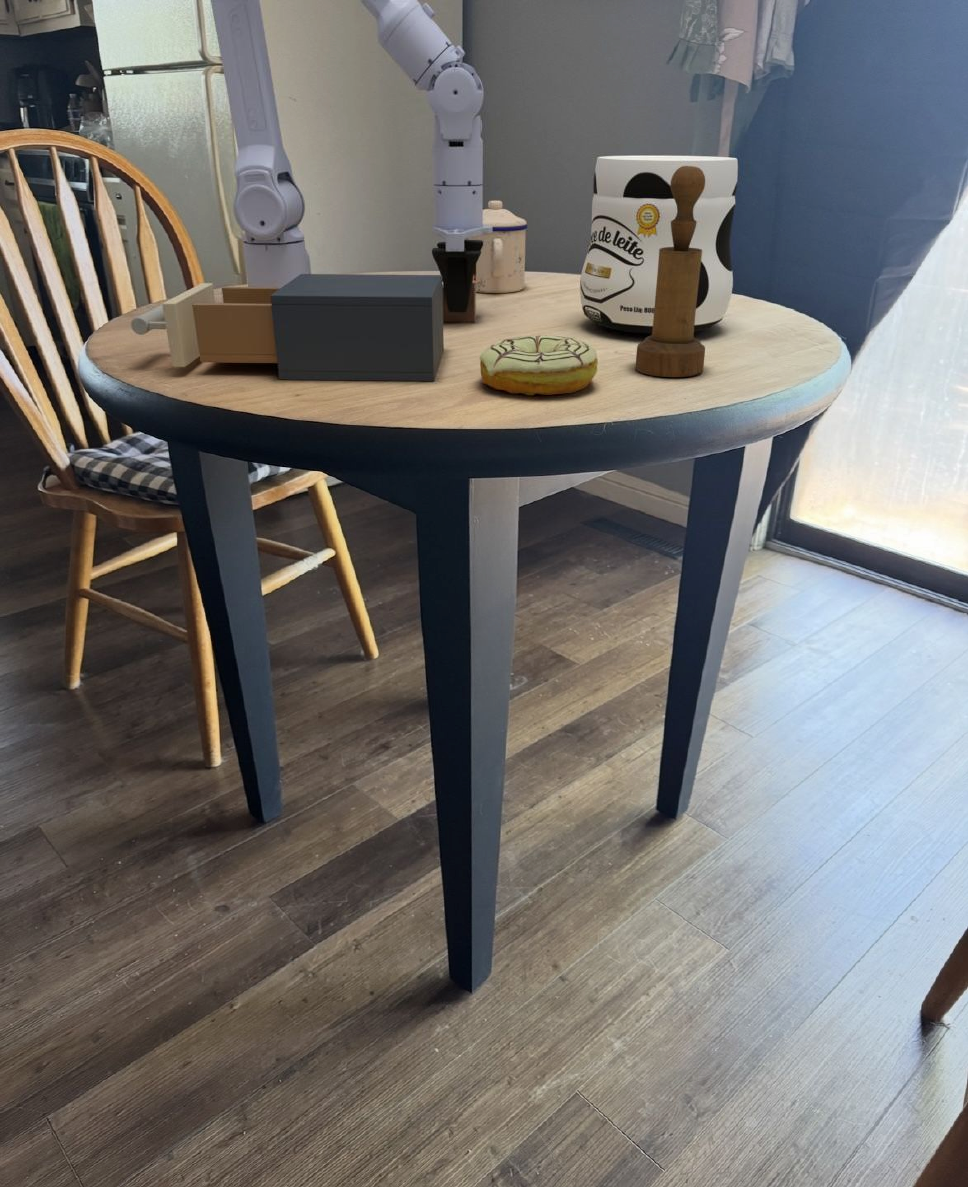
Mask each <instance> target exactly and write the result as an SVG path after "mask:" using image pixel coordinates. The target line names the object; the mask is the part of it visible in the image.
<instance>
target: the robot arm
mask: <svg viewBox="0 0 968 1187" xmlns="http://www.w3.org/2000/svg"><path fill="white" fill-rule="evenodd" d="M359 2H360V3H361V4H362V5H363V6H364V7H365V9H366V10H367V11H368V12H369V13H370V14H371V15H372V16H373V17H374V19H375V20H376V25H377V43H378V44H379V45H380V46H381V47H382V49H383V50H384V51H385V52H386V53H387V54H388V56H390V58H391V59H392V60H393V61H394V63H395V64H396V65H397V66H398V67H399V68H400V70H401V71H402V72H403V73H404V75H405V76H406V77H407V79H409V81H411V83H412V84H413V85H414V86H415V88H416V89H417V90H418V91H426V92H427V100H428V103H429V106H430V108H431V111H432V112H433V113H434V115H433V139H432V141H431V146H432V151H431V152H432V188H433V189H432V192H433V194H432V195H433V201H432V202H433V225H432V227H431V228H432V235H434V236H437V237H439V238H442V239H445V241H440V242H437V244H436V247H433V248H432V249H431V255H432V258H433V260H434V262H435V264H436V266H437V269H438V271H439V275H442V285H443V286H444V291H445V297H446V302H447V306H448V310H449V312H466V311H467V307H468V303H469V296H470V289H471V283H472V282H473V275H474V270H475V266H476V263H477V261H478V259H479V257H480V255H481V249H482V247H483V241H482V240H469V238H471V237H475V236H478V235H482V234H484V233H492V231H493V226H489V225H483V210H484V209H483V208H484V206H483V204H484V202H483V201H484V200H483V199H484V198H483V197H484V196H483V195H484V194H483V193H484V185H483V184H484V141H483V138H482V137H481V136H482V132H483V122H482V119H481V118H482V117H481V115H477V114H479V112H480V110H481V108H482V106H483V103H484V97H485V91H484V86H483V83H482V80H481V78H480V76H479V75H478V73H477V72H476V69H475V68H474V67H473V66H472V65H470V64H468V63H464V62H461V61H462V59H463V58H464V56H465V55H466V52H465V51H464V49H463V48H462V46H461V45H457V46H456V47H455V45H454V44H453V43H452V41H451V40H450V39H449V38H448V37H447V35H446V34H445V33H444V32H443V30H442V29H441V28H440V27H439V25H438V24H437V23H436V21H435V20H434V19H433V18H434V17H435V15H436V14H435V11H434V10H433V8H432V7H431V6H430V5H429V4H428V3H427V2H425V3H424V4H423V5H422V4H421V3H420V2H419V1H418V0H359ZM210 5H211V10H212V16H213V21H214V27H215V32H216V37H217V38H216V39H217V41H218V43H217V44H218V49H219V55H220V59H221V65H222V69H223V70H222V71H223V76H224V82H225V86H226V92H227V97H228V102H229V108H230V113H231V114H230V115H231V120H232V125H233V130H234V136H235V140H236V146H237V156H236V161H235V166H234V176H235V182H236V183H235V184H236V190H235V194H234V198H233V204H232V210H233V211H232V212H233V216H234V218H235V221H236V224H237V225H238V227H239V228H240V229H241V230H242V231H243V233H242V234H241V239H242V248H243V256H244V265H245V271H246V280H247V287H283V286H285V285H286V284H287V283H289V282H290V281H292V280H293V279H294V278H296V277H297V276H299V275H300V274H312V268H311V267H312V266H311V259H310V255H309V253H308V251H307V249H306V242H305V234H304V233H303V232H302V231H301V229H300V227H299V225H300V224H301V223H302V221H303V219H304V216H305V212H306V201H305V198H304V195H303V192H302V191H301V189H300V188H299V186H298V185H297V183H296V181H295V178H294V176H293V171H292V165H291V162H290V159H289V158H288V156H287V153H286V151H285V148H284V145H283V143H284V142H283V138H282V132H281V125H280V119H279V113H278V106H277V100H276V95H275V89H274V83H273V78H272V76H273V75H272V70H271V64H270V58H269V50H268V46H267V39H266V32H265V27H264V20H263V14H262V7H261V0H210Z"/></svg>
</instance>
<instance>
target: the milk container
mask: <svg viewBox="0 0 968 1187" xmlns="http://www.w3.org/2000/svg"><path fill="white" fill-rule="evenodd" d="M738 162H739V161H738V158H736V157H729V156H728V157H727V156H712V155H711V156H709V155H707V156H705V155H644V154H643V155H605V156H604V155H603V156H597V159H596V163H595V168H594V174H593V185H592V186H593V190H592V191H593V196H592V201H591V229H590V230H591V231H590V240H589V246H588V250H587V253H586V256H585V260H584V263H583V266H582V270H581V273H580V278H579V295H580V304H581V308H582V312H583V314H584V316H586V318H588V319H589V320H590V321H591V322H593V323H594V324H595V325H598V326H601V327H604V328H608V329H611V330H614V331H619V332H626V333H632V334H633V333H634V334H643V335H652V331H653V319H654V308H655V296H656V284H657V273H658V261H659V249H660V248H665V247H674V245H673V238H672V231H671V221H672V220H674V219H675V217H676V215H677V205H676V202H675V200H674V197H673V194H672V192H671V187H670V185H671V179H672V176H673V174H674V173H675V171H676V170H677V169H678V168H680V167H682V166H693V167H698V168H700V169H701V170H702V171H703V173H704V176H705V187H704V190H703V192H702V194H701V196H700V197H699V199H698V201H697V202H696V204H695V205H694V209H693V217H694V220H695V221H696V222H697V223H696V228H695V231H694V234H693V237H692V240H691V242H690V245H689V248H697V249H701V250H702V257H701V266H700V274H699V283H698V293H697V302H696V313H695V323H694V332H700V331H703V330H706V329H710V328H712V327H713V326H715V325H717V324H718V323H719V322H721V321H722V320H723V319H724V317H725V315H726V314H727V311H728V308H729V305H730V301H731V298H732V293H733V288H734V275H733V274H734V273H733V265H732V258H731V234H732V227H733V221H734V216H735V215H734V214H735V208H736V192H737V188H738V187H737V186H738V172H739V164H738Z"/></svg>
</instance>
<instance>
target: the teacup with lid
mask: <svg viewBox="0 0 968 1187" xmlns="http://www.w3.org/2000/svg"><path fill="white" fill-rule="evenodd" d="M503 204H504V203H503V202H502V201H501V200H489V201H488V203H487V208H485V209H483V225H489V226H493V231H492V233H484V234H482V235H478V236H475V237H471V238H469V240H482V241H483V247H482V249H481V255H480V257H479V259H478V261H477V263H476V266H475V270H474V275H473V282H472V283H476V293H481V294H508V293H516V292H519V291H522V290H523V289H524V288H525V276H526V275H525V271H526V270H525V269H526V268H525V267H526V237H527V236H526V229H527V228H528V225H527V224H528V222H527V221H526V220H525V219H524V218H522V217H519V216H518V215H517V216H516V215H515V214H514V213H513V212H511V211H510V210H508V209H505V208H503Z"/></svg>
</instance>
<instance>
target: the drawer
mask: <svg viewBox="0 0 968 1187" xmlns="http://www.w3.org/2000/svg"><path fill="white" fill-rule="evenodd" d="M280 288H282V287H248V286H222V287H221V294H222V301H223V302H221V303H220V302H216V298H215V291H214V290H215V289H214V283H211V282H201V283H200V284H197V285H195V286H193V287H192V288H190V289H188V290H186V291H183V292H182V293H180V294H178V295H176V296H173V297H172V298H170V299H168V300H166V301H165V302H163V303H161V304H160V305H157V306H155V307H154V308H152V309H149V310H148V311H146V312H144V313H142V314H140V315H138V316H136V317H135V318H133V319H132V320H131V321H130V328H131V329H132V331H133V333H135V334H137V335H139V336H143V335H145V334H147V333H149V332H151V331H152V330H166V335H167V341H168V347H169V348H168V349H169V353H170V360H171V365H172V367H173V368H186V366H187V367H188V365H189V364H191V363H192V362H193V361H195V360H196V359H197V358H199V360H200V363H223V364H225V363H226V364H227V363H230V364H231V363H232V364H233V363H234V364H237V363H238V364H278V363H277V353H276V344H275V335H274V326H273V316H272V307H271V305H272V304H271V298H270V295H272V294H273V293H275V292H276V291H278V290H279V289H280Z"/></svg>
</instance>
